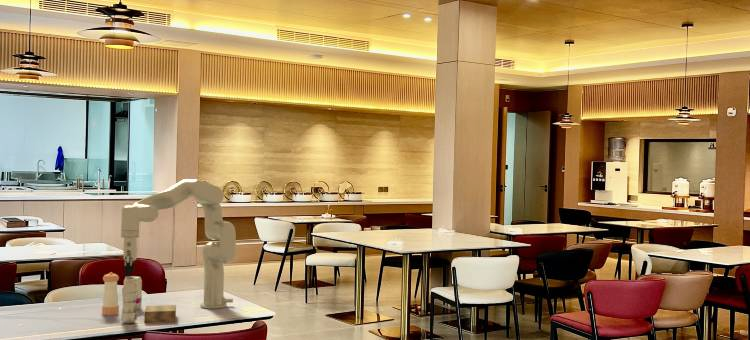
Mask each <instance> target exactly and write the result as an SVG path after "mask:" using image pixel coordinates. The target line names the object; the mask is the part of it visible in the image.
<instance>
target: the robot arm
mask: <svg viewBox="0 0 750 340" xmlns="http://www.w3.org/2000/svg"><path fill="white" fill-rule="evenodd" d="M189 198H193V200H194V201H195V202H197V203H198V204H199V205H200V206H201V207H202V209H203V214H204V234H205V237H206V238H207V239H209V240H213V241H210V242H209V241H208V242H207V243H205V245H204V246H203V248H202V251H201V252H202V253H201V255H202V260H203V266H204V267H203V269H204V271H203V272H204V273H203V302H202V303H200V307H201V308H202V309H208V310H209V309H211V310H213V309H223V308H226V307H227V305H228V304H229V303H231V304H232V303H233V302H234V299H233V298H230V297H229V298H226V297H225V296H224V293H225V291H224V288H225V287H224V286H225V281H224V280H225V270H224V265H223V264H230V263H232V262H233V261H234V260H235V258H236V254H237V235H236V228H235V226H234V224H233V223H232V222H231V221H226V220H223V209H222V206H221V203H222V202H223V201H224V198H225V193H224V191H223V189H222V188H221V187H219V186H218V185H214V184H212V183H210V182H207V181H204V180H201V179H196V178H195V179H194V178H191V179H189V178H186V179H182V180H181V181H179V182H177V183H175V184H174V185H171V186H170V187H169V188H166V189H165V190H164V191H161V192H158V193H155V194H153V195H150V196H146V197H145V198H142V199H141V200H138V201H137V202H134V204H132V205H124V206H123V207H122V208H121V227H120V228H121V229H120V230H121V231H120V238H121V239H123V260H124V268H123V275H125V276H133V272H134V271H135V261H136V260H137V258H138V256H137V255H138V253H137V252H138V251H137V249H138V245H137V244H138V243H137V242H138V240H137V239H138V238H139V237H140V222H144V223H151V222H154V221H156V220H157V219H158V217H159V210H161V211H162V210H168V209H171V208H174V207H176V206H177V205H179V204H181V203H182V202H184V201H186V200H188V199H189ZM139 239H140V238H139ZM214 240H215V241H214ZM216 241H217V242H216ZM218 241H219V242H218ZM227 303H228V304H227Z"/></svg>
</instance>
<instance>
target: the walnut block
mask: <svg viewBox="0 0 750 340" xmlns="http://www.w3.org/2000/svg"><path fill="white" fill-rule="evenodd" d="M144 309H145V310H144V324H154V323H155V324H157V323H158V324H159V323H175V322H176V317H177V316H176V315H177V314H176V313H177V305H176V304H166V305H165V304H163V305H161V304H160V305H146V306H145V308H144Z"/></svg>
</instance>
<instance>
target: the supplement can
mask: <svg viewBox="0 0 750 340" xmlns="http://www.w3.org/2000/svg"><path fill="white" fill-rule="evenodd" d="M126 277H127V276H125V278H126ZM129 277H134V284H135V285H136V287H137V289H138V291H137V297H136V311H137V310H140V309H141V308H142V302H143V301H142V299H143V298H142V296H143V295H142V291H143V290H142V288H143V283H142V282H143V280H142V278H141V276H136V275H135V276H134V275H129ZM125 278H124V279H123V286H124V285H125V284H126V282H125Z"/></svg>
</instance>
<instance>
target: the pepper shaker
mask: <svg viewBox="0 0 750 340" xmlns="http://www.w3.org/2000/svg"><path fill="white" fill-rule="evenodd" d="M119 279H120V277H119V275H118V274H116V273H114V272H112V271H111V272H109V273H107V274H104V275H103V277H102V280H103V282H104V292H103V297H102V307H101V314H102V315H103V316H113V315H114V316H115V315H118V314H119V313H120V311H119V310H120V306H119V294H118V281H119Z"/></svg>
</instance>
